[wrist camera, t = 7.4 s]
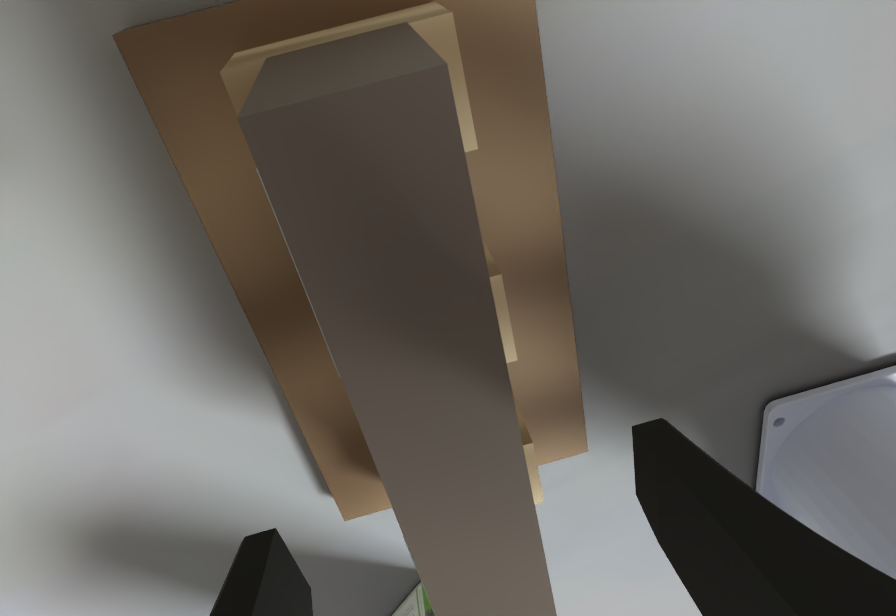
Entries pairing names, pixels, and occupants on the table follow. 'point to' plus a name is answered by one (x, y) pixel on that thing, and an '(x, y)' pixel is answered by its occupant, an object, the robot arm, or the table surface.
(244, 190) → the display stand
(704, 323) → the table surface
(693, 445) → the robot arm
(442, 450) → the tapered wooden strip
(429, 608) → the syrup box
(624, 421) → the table surface
